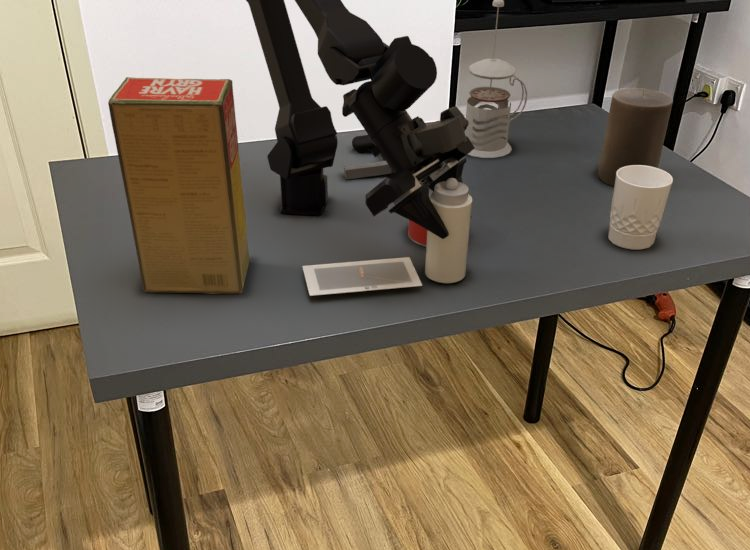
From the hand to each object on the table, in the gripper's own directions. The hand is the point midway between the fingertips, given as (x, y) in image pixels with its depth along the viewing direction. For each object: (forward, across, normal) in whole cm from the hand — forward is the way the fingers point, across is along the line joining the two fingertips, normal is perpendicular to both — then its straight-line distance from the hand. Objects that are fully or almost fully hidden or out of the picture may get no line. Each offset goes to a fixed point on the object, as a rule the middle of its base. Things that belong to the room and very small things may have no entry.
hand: (457, 228), depth 109 cm
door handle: (-15, +26, +26) cm, 40 cm away
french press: (-8, +45, +19) cm, 49 cm away
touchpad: (-1, -8, +12) cm, 15 cm away
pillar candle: (+10, +47, +1) cm, 48 cm away
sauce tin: (-1, +10, +11) cm, 15 cm away
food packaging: (-15, -20, +26) cm, 36 cm away
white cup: (+17, +25, -6) cm, 31 cm away
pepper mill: (+4, 0, +6) cm, 7 cm away
